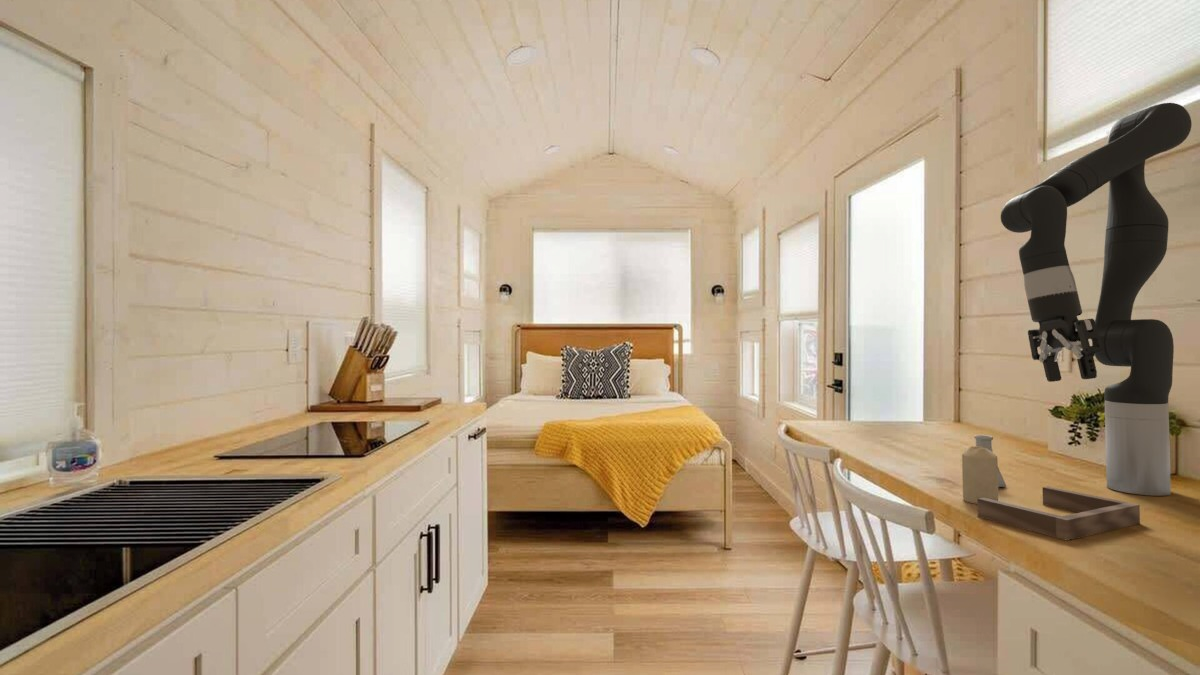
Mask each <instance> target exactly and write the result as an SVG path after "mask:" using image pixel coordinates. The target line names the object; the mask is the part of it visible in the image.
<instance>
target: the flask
mask: <svg viewBox="0 0 1200 675" xmlns="http://www.w3.org/2000/svg"><path fill="white" fill-rule="evenodd" d="M973 438H974V439H975V446H981V447H983V448H986V449H988V450H989V451H991V452H993V447H992V446H993V444H992V442H993V439H994V437H993V436H992V435H986V434H976V435H975V434H974V435H973ZM993 453H994V452H993ZM1004 487H1005V488H1006V487H1007V484H1006V481H1005V480H1004V477H1003V475H1002V472H1001V471H1000V469H999V467H998V488H1004Z"/></svg>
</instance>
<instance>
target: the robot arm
mask: <svg viewBox="0 0 1200 675" xmlns="http://www.w3.org/2000/svg"><path fill="white" fill-rule="evenodd" d="M1191 131H1192V118H1191V115H1190V113H1189V112H1188V110H1187V109H1186V108H1185V107H1184V106H1183V105H1181V104H1179V103H1175V102H1164V103H1163V102H1162V103H1159V104H1155V105H1152V106H1149V107H1146V108H1144V109H1141V110H1139V111H1136V112H1134V113H1131V114H1128V115H1126V116H1124V117H1122V118H1119V119H1118V120H1116V121H1115V122H1114V123H1113V124H1112V126H1111V127H1110V130H1109V131H1108V136H1107V142H1106V144H1105V145H1103V146H1101V147H1099V148H1096V149H1094V150H1092V151H1090V152H1088V153H1086V154H1084V155H1082V156H1080V157H1078V158H1076V159H1074V160H1073V161H1070V162H1069V163H1067V164H1066V165H1064V166H1063V167H1062V168H1060V169H1058V170H1057V171H1056V172H1054V173H1052V174H1051V175H1050V176H1048V178H1046V179H1045V180H1043V181H1042V182H1040V183H1038V184H1036V185H1035V186H1033V187H1031V188H1029V189H1027V190H1025V191H1024V192H1021V193H1020V194H1018V195H1017V196H1014V197H1013V198H1011V199H1009V201H1007V202H1006V203H1005V204H1004V206H1003V208H1001V212H1000V222H1001V224H1002V226H1003V227H1004V228H1005V229H1006V230H1007V231H1009V232H1011V233H1018V234H1019V233H1021V234H1022V233H1027V232H1030V237H1029V239H1028V240H1027V241H1026V242H1025V243H1024V244H1022V245H1021V246H1020V247H1019V250H1018V255H1019V261H1020V267H1021V269H1022V274H1023V282H1024V284H1023V285H1024V290H1025V295H1026V298H1027V303H1028V309H1029V313H1030V318H1031V321H1032V322H1034V323H1038V324H1039V328H1035V329H1034V328H1033V329H1028V330H1027V335H1028V341H1029V347H1030V351H1031V352H1030V353H1031V357H1032V360H1033V361H1039V362H1040V363H1042V365H1043V366H1042V367H1043V369H1044V370H1043V371H1044V374H1045V378H1046V380H1047V382H1048V383H1050V382H1051V383H1052V382H1053V383H1054V382H1059V381H1061V380H1062V375H1061V372H1060V366H1059V362H1058V361H1057V358H1058V355H1059V353H1060V352H1061V351H1062V350H1063V348H1065V349H1066V350H1068V351H1072V353H1073V354H1074V355H1075V357H1076V358H1077V359H1076V361H1077V366H1078V370H1079V374H1080V378H1081V379H1082V380H1092V379H1096V378H1097V377H1098V370H1097V367H1096V363H1095V359H1096V360H1097V361H1098V362H1099V363H1100V364H1102V365H1104V366H1109V367H1130V370H1129V371H1130V373H1129V375H1128V377H1127V378H1126V379H1124V380H1122V381H1120V382H1117V383H1114V384H1110V385H1107V386H1106V387H1105V388H1104V390H1103V391H1104V394H1103V397H1104V421H1105V422H1104V425H1105V427H1104V429H1105V430H1104V432H1105V434H1104V435H1105V464H1106V465H1105V469H1106V470H1105V472H1106V473H1105V474H1106V479H1105V480H1106V487H1107V488H1108V489H1111V490H1115V491H1117V492H1122V493H1128V494H1133V495H1141V496H1142V495H1143V496H1162V497H1163V496H1169V495H1171V494H1172V493H1171V492H1172V490H1171V487H1172V486H1171V485H1172V484H1171V454H1170V453H1171V449H1170V446H1171V444H1170V419H1169V418H1170V415H1169V414H1170V412H1169V411H1170V410H1169V408H1170V407H1169V396H1170V392H1171V390H1172V387H1173V386H1172V385H1173V375H1174V374H1173V370H1174V368H1173V367H1174V366H1173V365H1174V353H1175V350H1174V349H1175V346H1174V338H1173V333H1172V332H1171V329H1170V327H1169V326H1168V325H1167V324H1166V322H1163V321H1162V320H1160V319H1156V318H1154V319H1153V318H1151V319H1150V318H1149V319H1148V318H1147V319H1145V318H1142V319H1138V318H1137V319H1132V315H1133V314H1132V313H1133V308H1134V305H1135V302H1136V301H1135V300H1136V298H1137V296H1138V294H1139V292H1140V291H1141V289H1142V288H1143V286H1144V285H1145V284H1146V283H1147V282H1148V280H1149V279H1150V278H1151V276H1152V275H1153V274H1154V273H1155V271H1156V270H1157V268H1159V266H1160V265H1161V263H1162V261H1163V260H1164V257H1165V256H1166V255H1167V250H1168V248H1167V247H1168V238H1169V237H1168V236H1169V218H1168V215H1167V213H1166V211H1165V209H1164V208H1163V207H1162V205H1161V204H1160V203H1159V202H1158V200H1157V199H1156V198H1155V196H1153V194H1152V193H1151V192H1150V190H1149V189H1148V186H1147V184H1146V180H1145V177H1146V176H1145V165H1146V161H1147V160H1148V159H1150V158H1152V157H1154V156H1156V155H1159V154H1162V153H1165V152H1167V151H1170V150H1173V149H1174V148H1176V147H1178V146H1180V145H1182V144H1183V143H1184V141H1185V140H1187V138H1189V135H1190V133H1191ZM1107 183H1108V198H1107V199H1108V200H1107V201H1108V202H1107V206H1108V207H1107V216H1106V217H1107V220H1106V225H1105V239H1104V249H1103V250H1104V251H1103V252H1104V253H1103V254H1104V256H1103V257H1104V258H1103V269H1102V270H1103V271H1102V280H1101V287H1100V295H1099V300H1098V304H1097V309H1096V315H1095V319H1094V318H1085V319H1079V318H1078V316H1080V315H1082V314H1083V309H1082V305H1081V302H1080V297H1079V293H1078V288H1077V285H1076V280H1075V277H1074V273H1073V272H1072V270H1071V266H1070V263H1069V259H1068V253H1067V249H1066V246H1065V245H1066V244H1065V241H1066V234H1067V223H1068V222H1067V221H1068V220H1067V219H1068V207H1071V206H1073V205H1075V204H1077V203H1079V202H1080V201H1082V200H1084V199H1086V198H1087V197H1088V196H1089V195H1092V193H1094V192H1095V191H1097V190H1098V189H1099V188H1100V189H1101V187H1103V186H1104V185H1105V184H1107ZM1089 340H1091V342H1092V343H1091V344H1092V345H1090V341H1089ZM1038 348H1039V351H1040V352H1039V351H1038ZM1094 357H1095V359H1094Z"/></svg>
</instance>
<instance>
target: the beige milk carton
mask: <svg viewBox="0 0 1200 675" xmlns="http://www.w3.org/2000/svg"><path fill="white" fill-rule="evenodd" d="M998 463H999V462H998V455H997V454H996V453H994V452H991V451H989V450H988V449H986V448H983V447H981V446H976V445H973V446H972V445H971V446H969V447H968V448H967V449H965V451H963V452H962V453H961V466H962V467H961V468H962V469H961V470H962V474H961V475H962V476H961V477H962V499H963V501H965V502H967V503H971V504H975V505H978V498H987V499H992V500H996V501H999V487H998V468H999V466H998V465H999V464H998Z"/></svg>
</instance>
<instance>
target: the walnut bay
mask: <svg viewBox="0 0 1200 675" xmlns="http://www.w3.org/2000/svg"><path fill="white" fill-rule="evenodd" d="M1042 505H1046V506H1051V507H1055V508H1059V509H1063V510H1067V509H1068V511H1072V510H1073V511H1072V512H1076V511H1077V513H1071V514H1070V513H1069V514H1067V515H1060V514H1059V515H1058V514H1055V513H1049V512H1046V511H1041V510H1038V509H1037V510H1036V509H1033V508H1029V507H1025V506H1021V505H1016V504H1012V503H1009V502H1004V501H999V500H998V501H996V500H992V499H987V498H978V504H977V517H979V518H983V519H986V520H989V521H993V522H997V523H1001V524H1004V525H1009V526H1013V527H1016V528H1018V529H1022V530H1023V529H1024V530H1026V531H1027V530H1028V531H1030V530H1031V532H1034V531H1035V533H1038V532H1039V533H1038V534H1041V533H1042V534H1041V535H1045V534H1046V536H1049V535H1050V537H1052V536H1054V537H1053V538H1056V537H1058V538H1057V539H1060V538H1062V539H1061V540H1064V539H1066V540H1065V541H1067V540H1068V541H1071V540H1070V539H1072V540H1075V538H1076V539H1080V538H1079V537H1081V538H1085V537H1088V536H1093V535H1097V534H1101V533H1106V532H1110V531H1114V530H1118V529H1122V527H1123V528H1126V527H1130V526H1136V525H1140V523H1141V514H1140V513H1141V510H1140V509H1141V508H1140V507H1141V505H1140V504H1138V503H1132V502H1128V501H1122V500H1117V499H1112V498H1108V497H1103V496H1098V495H1092V494H1088V493H1082V492H1076V491H1073V490H1067V489H1063V488H1058V487H1053V486H1043V487H1042ZM1084 536H1085V537H1084Z"/></svg>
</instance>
